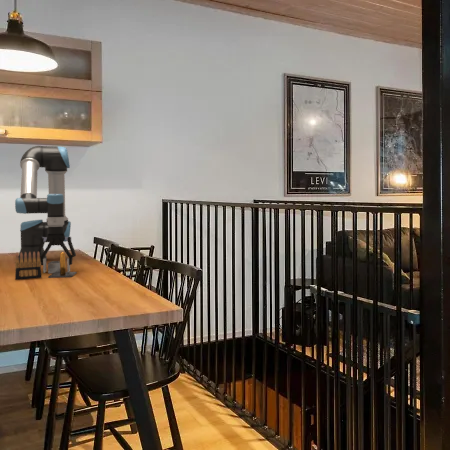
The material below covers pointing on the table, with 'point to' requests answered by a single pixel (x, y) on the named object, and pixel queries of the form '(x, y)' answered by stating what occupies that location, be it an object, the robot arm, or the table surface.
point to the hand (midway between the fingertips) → (56, 271)
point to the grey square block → (54, 266)
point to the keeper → (62, 269)
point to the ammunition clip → (27, 266)
